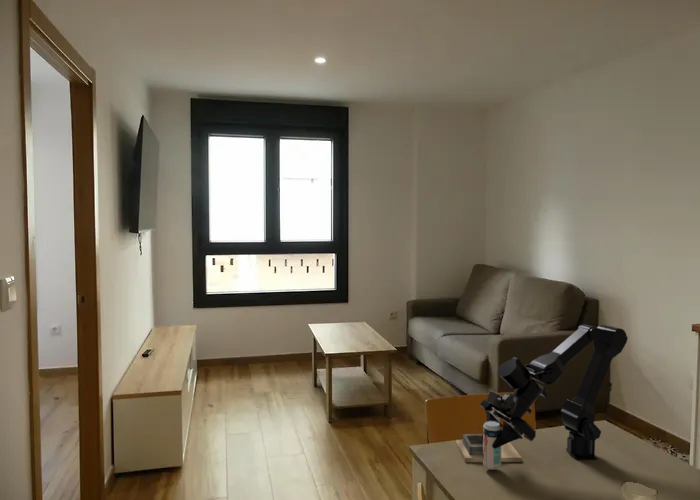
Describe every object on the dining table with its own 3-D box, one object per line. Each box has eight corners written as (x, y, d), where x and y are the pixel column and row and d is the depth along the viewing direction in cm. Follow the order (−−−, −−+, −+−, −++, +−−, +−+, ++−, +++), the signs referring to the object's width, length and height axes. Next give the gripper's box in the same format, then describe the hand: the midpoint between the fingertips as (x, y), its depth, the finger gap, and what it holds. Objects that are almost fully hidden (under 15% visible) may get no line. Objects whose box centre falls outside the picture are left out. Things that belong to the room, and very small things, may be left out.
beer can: (486, 460, 144) (487, 418, 143) (503, 465, 141) (503, 422, 140) (480, 467, 140) (480, 424, 139) (497, 472, 137) (497, 428, 137)
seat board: (507, 443, 158) (507, 431, 157) (521, 461, 146) (521, 448, 145) (455, 444, 157) (455, 432, 157) (465, 462, 145) (465, 449, 145)
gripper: (485, 371, 149) (451, 413, 147) (526, 391, 132) (489, 439, 129) (508, 395, 152) (476, 436, 149) (551, 417, 134) (515, 465, 132)
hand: (487, 443), depth 140 cm, fingers closed on beer can, 5 cm apart
